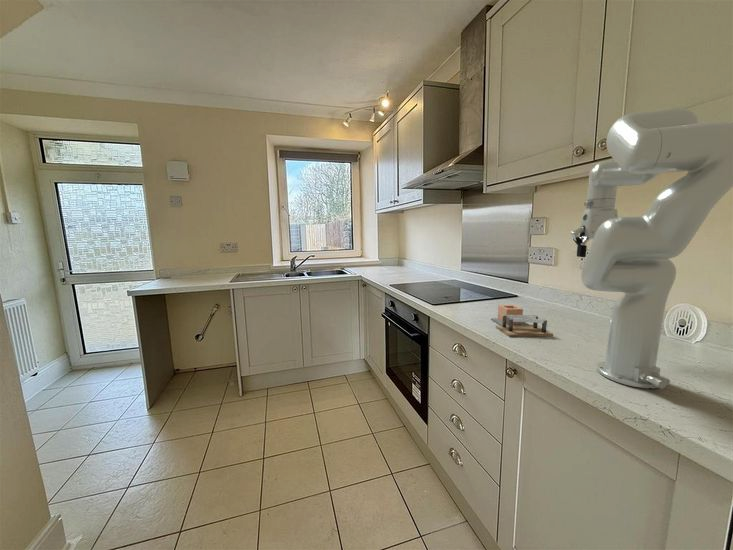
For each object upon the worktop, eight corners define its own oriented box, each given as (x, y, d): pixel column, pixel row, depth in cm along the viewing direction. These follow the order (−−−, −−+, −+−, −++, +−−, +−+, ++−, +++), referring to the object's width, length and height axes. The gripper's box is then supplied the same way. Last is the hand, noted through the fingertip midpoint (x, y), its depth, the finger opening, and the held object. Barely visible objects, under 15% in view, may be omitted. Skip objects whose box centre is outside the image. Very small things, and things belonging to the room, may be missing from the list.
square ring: (521, 323, 116) (523, 309, 115) (505, 324, 115) (506, 309, 114) (512, 318, 122) (513, 304, 121) (497, 319, 122) (498, 305, 121)
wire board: (553, 335, 104) (553, 333, 104) (509, 336, 103) (509, 334, 103) (535, 326, 114) (535, 324, 114) (495, 327, 113) (495, 325, 113)
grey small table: (546, 332, 104) (548, 320, 104) (513, 333, 104) (514, 321, 103) (532, 325, 113) (533, 313, 112) (501, 326, 112) (502, 314, 111)
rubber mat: (529, 325, 115) (529, 324, 115) (501, 326, 114) (502, 325, 114) (516, 319, 124) (516, 317, 123) (491, 319, 123) (491, 318, 123)
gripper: (584, 204, 93) (578, 258, 95) (635, 204, 93) (629, 257, 96) (566, 206, 100) (562, 256, 102) (615, 206, 101) (609, 255, 103)
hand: (594, 256), depth 99 cm, fingers open, 9 cm apart
